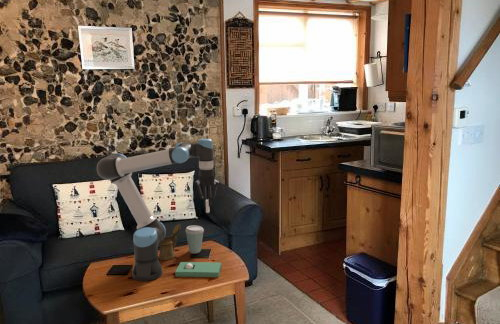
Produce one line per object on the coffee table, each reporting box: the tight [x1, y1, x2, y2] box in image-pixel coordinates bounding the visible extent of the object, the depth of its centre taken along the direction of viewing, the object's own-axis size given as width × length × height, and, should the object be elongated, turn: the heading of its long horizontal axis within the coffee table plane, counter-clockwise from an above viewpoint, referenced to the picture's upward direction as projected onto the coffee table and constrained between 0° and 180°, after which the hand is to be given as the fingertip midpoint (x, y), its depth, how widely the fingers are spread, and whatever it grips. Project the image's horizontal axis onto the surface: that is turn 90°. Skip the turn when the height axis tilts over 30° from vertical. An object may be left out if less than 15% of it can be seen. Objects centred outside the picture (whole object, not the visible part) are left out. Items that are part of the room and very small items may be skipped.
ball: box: [185, 263, 193, 269], centre depth 214 cm, size 4×4×4 cm
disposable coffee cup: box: [185, 225, 205, 254], centre depth 239 cm, size 11×11×15 cm
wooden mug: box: [158, 223, 181, 261], centre depth 233 cm, size 9×14×18 cm, turn 123°
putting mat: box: [174, 261, 222, 278], centre depth 214 cm, size 22×12×2 cm, turn 86°
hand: (207, 212), depth 218 cm, fingers closed
